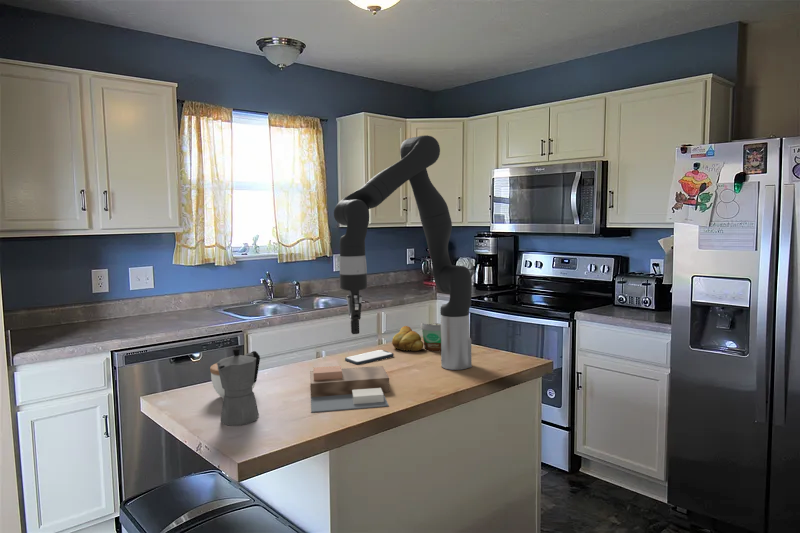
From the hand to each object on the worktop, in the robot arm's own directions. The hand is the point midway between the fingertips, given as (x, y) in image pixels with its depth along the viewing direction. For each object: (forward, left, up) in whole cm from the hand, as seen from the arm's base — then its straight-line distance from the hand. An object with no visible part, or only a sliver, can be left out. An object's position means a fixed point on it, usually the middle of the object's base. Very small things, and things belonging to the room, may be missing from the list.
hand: (355, 333), depth 154 cm
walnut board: (+2, -5, -17) cm, 18 cm away
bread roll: (-23, -46, -17) cm, 55 cm away
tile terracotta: (+8, -5, -12) cm, 15 cm away
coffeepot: (+30, +13, -17) cm, 37 cm away
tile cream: (-2, +7, -16) cm, 18 cm away
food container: (-33, -42, -17) cm, 56 cm away
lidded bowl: (+34, -5, -17) cm, 38 cm away
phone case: (-8, -37, -18) cm, 42 cm away
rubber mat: (+3, +8, -17) cm, 19 cm away
